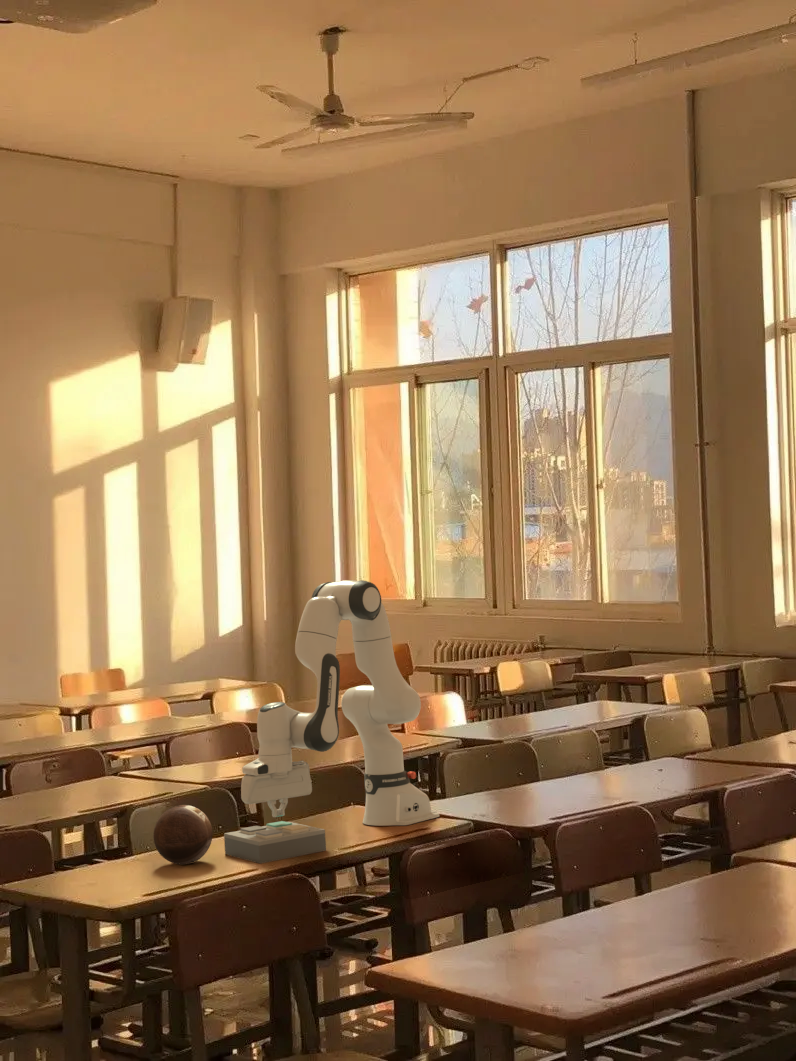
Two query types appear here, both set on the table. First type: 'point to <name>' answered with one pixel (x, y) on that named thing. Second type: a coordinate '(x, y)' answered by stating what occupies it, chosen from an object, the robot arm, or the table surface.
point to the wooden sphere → (182, 834)
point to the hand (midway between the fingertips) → (278, 816)
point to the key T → (295, 829)
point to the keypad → (274, 845)
